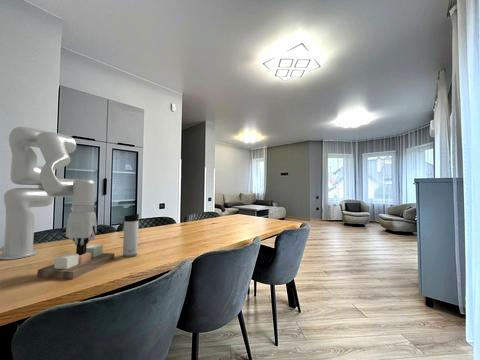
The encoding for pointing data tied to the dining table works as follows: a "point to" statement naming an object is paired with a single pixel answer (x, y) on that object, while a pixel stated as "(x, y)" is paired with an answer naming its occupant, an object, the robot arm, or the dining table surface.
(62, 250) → the dining table surface
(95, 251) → the sage key
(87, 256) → the terracotta key
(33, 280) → the dining table surface
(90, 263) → the walnut panel
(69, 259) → the cream key
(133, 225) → the travel mug
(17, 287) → the dining table surface
